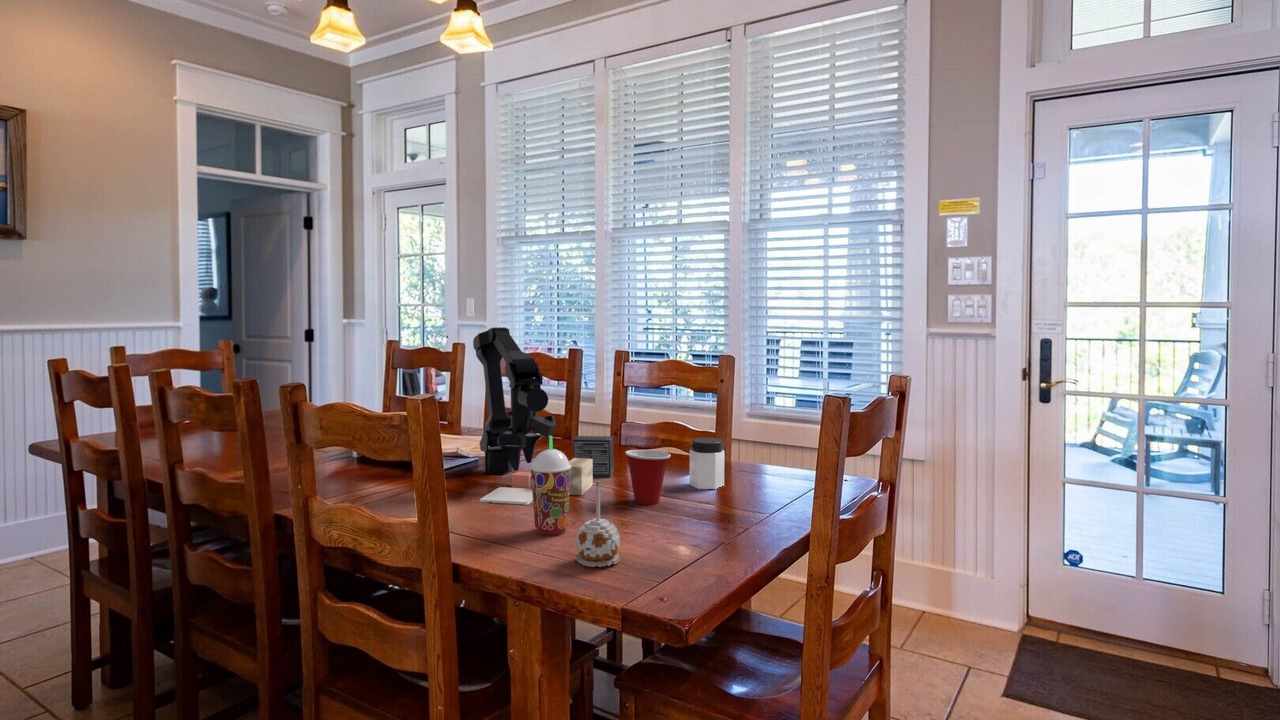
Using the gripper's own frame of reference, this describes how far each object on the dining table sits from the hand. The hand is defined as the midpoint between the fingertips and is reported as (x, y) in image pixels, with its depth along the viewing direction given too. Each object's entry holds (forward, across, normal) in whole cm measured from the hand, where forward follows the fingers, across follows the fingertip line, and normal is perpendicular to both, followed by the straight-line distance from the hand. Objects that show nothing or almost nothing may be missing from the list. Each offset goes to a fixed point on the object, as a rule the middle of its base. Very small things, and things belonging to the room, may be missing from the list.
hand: (522, 466), depth 187 cm
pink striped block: (+5, 0, -5) cm, 7 cm away
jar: (+5, +11, -46) cm, 48 cm away
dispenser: (+5, 0, -12) cm, 13 cm away
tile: (+5, -10, -1) cm, 11 cm away
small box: (+6, +17, -14) cm, 23 cm away
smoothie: (+5, -34, -19) cm, 40 cm away
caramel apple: (+5, -49, -33) cm, 60 cm away
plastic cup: (+5, -7, -34) cm, 35 cm away
